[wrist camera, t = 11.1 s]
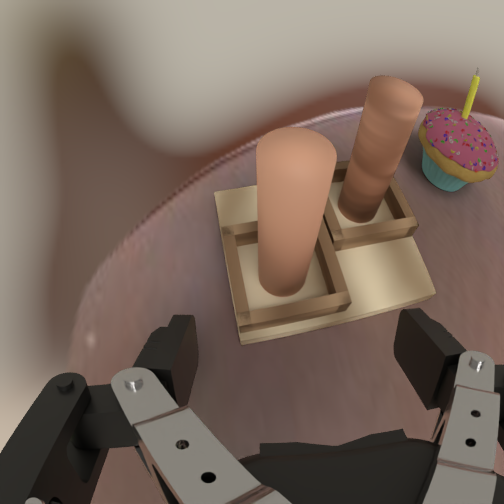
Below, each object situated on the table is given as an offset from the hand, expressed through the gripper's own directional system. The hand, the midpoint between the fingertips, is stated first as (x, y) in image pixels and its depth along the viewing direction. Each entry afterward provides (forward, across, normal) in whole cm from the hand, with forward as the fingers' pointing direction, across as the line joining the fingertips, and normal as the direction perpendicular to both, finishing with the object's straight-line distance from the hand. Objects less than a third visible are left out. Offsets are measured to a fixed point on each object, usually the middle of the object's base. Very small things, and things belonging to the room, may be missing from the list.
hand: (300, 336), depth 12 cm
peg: (+10, 0, +1) cm, 10 cm away
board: (+13, -3, 0) cm, 13 cm away
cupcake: (+19, -17, -6) cm, 26 cm away
